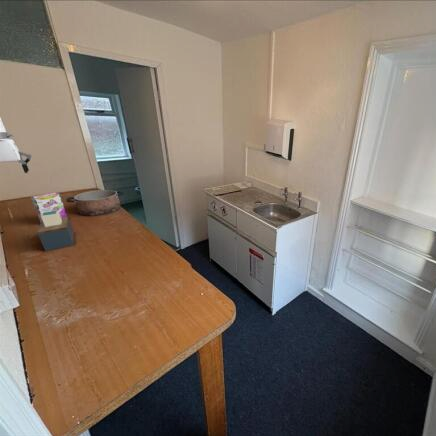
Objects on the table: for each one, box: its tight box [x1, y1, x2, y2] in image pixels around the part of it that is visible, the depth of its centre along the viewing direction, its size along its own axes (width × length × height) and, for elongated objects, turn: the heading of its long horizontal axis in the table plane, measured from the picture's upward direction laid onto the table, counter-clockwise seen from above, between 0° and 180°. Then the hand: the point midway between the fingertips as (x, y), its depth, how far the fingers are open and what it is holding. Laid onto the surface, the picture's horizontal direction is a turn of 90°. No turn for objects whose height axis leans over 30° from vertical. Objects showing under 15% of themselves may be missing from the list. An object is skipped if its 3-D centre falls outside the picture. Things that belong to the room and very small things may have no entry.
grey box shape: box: [36, 215, 75, 252], centre depth 116 cm, size 10×16×10 cm, turn 39°
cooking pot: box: [66, 189, 125, 217], centre depth 155 cm, size 30×22×11 cm
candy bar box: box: [30, 192, 68, 223], centre depth 136 cm, size 11×5×16 cm, turn 154°
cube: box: [41, 210, 62, 227], centre depth 113 cm, size 6×6×6 cm
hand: (12, 173), depth 113 cm, fingers open, 9 cm apart
